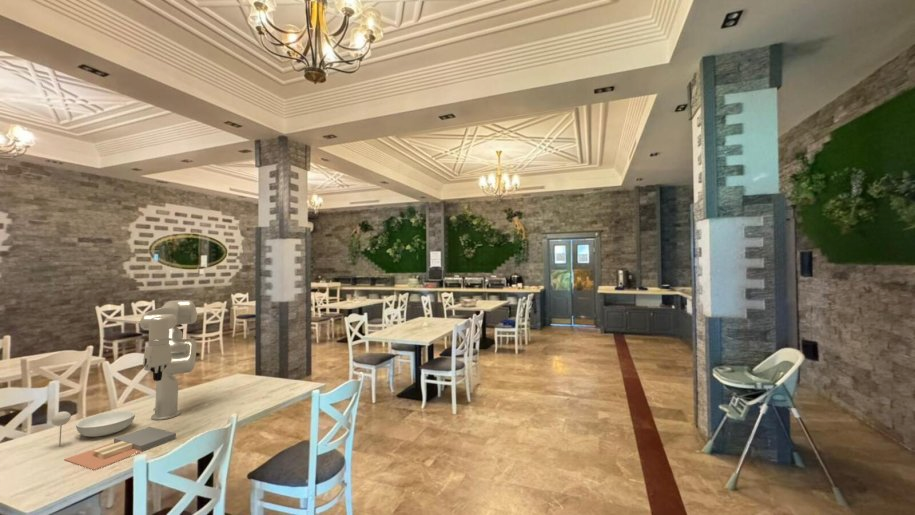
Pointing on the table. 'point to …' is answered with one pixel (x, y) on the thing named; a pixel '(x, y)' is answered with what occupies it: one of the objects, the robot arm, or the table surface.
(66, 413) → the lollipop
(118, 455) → the rust mat
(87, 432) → the serving bowl
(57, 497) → the table surface
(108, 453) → the slatted wooden pallet
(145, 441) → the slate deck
